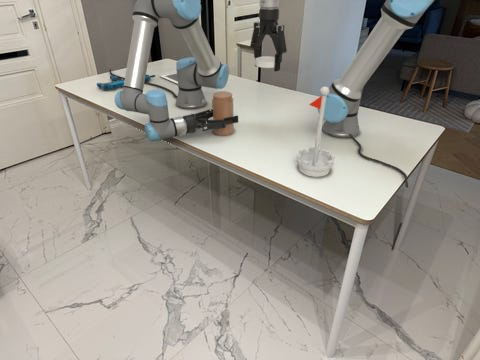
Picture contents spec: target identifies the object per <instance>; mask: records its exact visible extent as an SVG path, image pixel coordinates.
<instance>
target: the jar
mask: <svg viewBox="0 0 480 360" xmlns="http://www.w3.org/2000/svg"><path fill="white" fill-rule="evenodd" d="M211 106H212V107H211V109H212V110H213V117H212V120H224V118H229V117H233V116H234V98H233V93H232V92H230V91H226V90H219V91H216V92H213V93H212V98H211ZM234 125H235V123H232V124H228V125H226V128H221V129H213V133H214V134H215V135H217V136H228V135H229V136H230V135H232V134H233V133H234V131H235V128H234V127H235V126H234Z"/></svg>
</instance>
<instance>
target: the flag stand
mask: <svg viewBox="0 0 480 360" xmlns="http://www.w3.org/2000/svg"><path fill="white" fill-rule="evenodd" d="M329 88H330V87H328V86H322V87H321V88H320V89H319V94H320V96H319V97H318V98H316V99H315V100H314V101H312V102H311V103H309V104H308V105H309V106H311V107H314V108H316V109H317V110H318V109H320V111H319V112H318V119H317V127H316V133H315V134H316V135H315V143H314V146H309V148H308V149H305V148H304V147H303V148H301V149H299V150H298V153H296V163H297V165H298V171H299V172H300V173H302V174H304V175H306V176H309V177H314V178H315V177H317V178H320V177H325V176H326V175H328V174H329V173H330V170H331V168H333V166H334V164H335V155H334V154H333V153H331V154H330V150H328V149H326V148H322V149H321V150H320V146H321V145H320V144H321V138H322V137H321V136H322V130H323V125H324V119H323V117H324V110H325V103H326V96H327V95H328V94H329Z"/></svg>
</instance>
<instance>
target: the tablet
mask: <svg viewBox="0 0 480 360" xmlns="http://www.w3.org/2000/svg"><path fill="white" fill-rule="evenodd" d="M159 77H160V78H162V79H165V80H167V81H169V82H171V83H174V84H176V85H178V78H177V71H175V72H171V73H167V74H163V75H159Z"/></svg>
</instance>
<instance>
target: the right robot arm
mask: <svg viewBox="0 0 480 360" xmlns="http://www.w3.org/2000/svg"><path fill="white" fill-rule="evenodd" d="M280 1H281V0H259V10H258V19H259V21H255V22H253V30H252V35H251V40H250V46H249V47H250V48H252V49H253V58H254V60H255V59H256V58H258V57H262V49H261V45H262V43H263V41H264V39H265V37H266V35H267V36H269V37H270V39H271V41H272V44H273V46H274V49H275V52H276V53H275V54H274V57H275V66H274V68H273V72H275V73H276V72H279V71H281V63H283V62H282V61H283V54H286V53H287V52H288V50H287V43H286V36H285V24H281V25H280V24H279V23H278V21H279V18H280V9H279V8H280V4H281V3H280ZM434 2H435V0H385V2H384V4H383V5H382V7H381V8H380V13H381V17H380V18H379V20H378V21H377V23H376V24H375V25H374V27H373V29H372V30H371V32H370V33H369V35H367V38H366V39H365V40H364V42H363V44H362V45H361V47H360V48H359V50H358V51H357V53H356V54H355V56H354V57H353V59H352V60H351V61H350V63H349V64H348V66H347V67H346V69H345V70H344V72H343V74H341V76H338V77H335V78H334V80H333V81H332V82H331V85H329V87H328V88H329V94H328V95H327V96H326V103H325V110H324V117H323V121H324V122H323V124H322V130H323V132H324V133H325V134H326V135H329V136H332V137H335V138H339V139H341V138H342V139H349V138H351V139H352V140H353V141H354V142H355V143H356V144H357V145H358V154H359V155H360V156H361V157H362V158H365V159H366V160H370V161H373V162H376V163H379V164H382V165H385V166H387V167H388V168H389V167H390V168H392V169H394V170H396V171H398V172H400V173H401V175H403V176H404V184H405V188H406V189H408V188H409V181H408V175H407V174H406V173H405V172H404V170H402V169H400V168H399V167H397V166H395V165H392V164H389V163H387V162H384V161H383V160H382V161H381V160H379V159H376V158H372V157H369V156H366V155H364V154H363V153H362V152H361V150H362V145H361V143H360V142H359V141H358V140H357V139H356V138H355V137H356V136H357V135H359V132H360V125H359V118H358V117H359V116H358V114H359V111H360V110H359V109H360V105H361V100H362V95H363V90H364V86H365V85H366V84H367V82H368V81H369V80H370V78H371V76H372V75H373V74H374V73H375V71H376V70H377V69H378V67H380V66H379V65H381V63H382V62H383V60H385V58H386V56H387V55H388V54H389V53H390V51H391V50H392V49H393V47H394V46H395V44H396V43H397V41H399V39H400V37H401V36H402V35H403V33H404V32H405V31H406V30H410V29H413V28H414V27H415V25H416V24H417V23H418V21H419V20H420V18H421V17H422V16H423V14H424V13H425V12H426V11H427V10H428V8H429V7H430V6H431V5H432V4H434ZM254 67H256V68H257V66H256V65H255V64H254ZM317 111H318V113H319V111H320V109H318V108H317ZM402 226H403V222H400V223H399V225H398V228H397V231H396V234H395V237H394V239H393V243H392V245H391V249H390V250H391V251H392V252H393V251H394V250H395V246H396V243H397V240H398V238H399V234H400V232H401V229H402Z"/></svg>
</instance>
